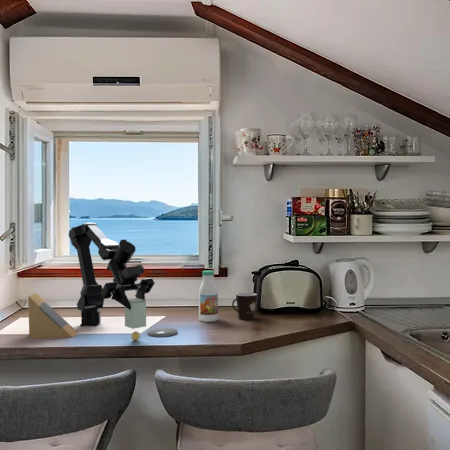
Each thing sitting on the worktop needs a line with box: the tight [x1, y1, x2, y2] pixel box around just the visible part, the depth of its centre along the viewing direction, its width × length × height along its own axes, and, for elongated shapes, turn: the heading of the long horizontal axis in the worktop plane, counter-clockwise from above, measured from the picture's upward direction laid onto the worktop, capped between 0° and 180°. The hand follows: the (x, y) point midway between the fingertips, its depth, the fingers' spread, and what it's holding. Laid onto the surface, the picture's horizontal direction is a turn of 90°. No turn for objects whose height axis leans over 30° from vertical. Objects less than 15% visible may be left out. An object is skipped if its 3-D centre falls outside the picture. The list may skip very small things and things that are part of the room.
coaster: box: [146, 327, 179, 338], centre depth 183 cm, size 11×11×1 cm
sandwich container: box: [27, 292, 78, 339], centre depth 181 cm, size 9×15×15 cm, turn 94°
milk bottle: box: [198, 269, 219, 323], centre depth 204 cm, size 8×8×20 cm
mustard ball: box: [130, 331, 141, 341], centre depth 173 cm, size 3×3×3 cm
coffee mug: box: [231, 292, 258, 321], centre depth 206 cm, size 12×9×10 cm
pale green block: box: [124, 297, 147, 330], centre depth 173 cm, size 5×5×9 cm
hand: (137, 307), depth 172 cm, fingers closed on pale green block, 5 cm apart
